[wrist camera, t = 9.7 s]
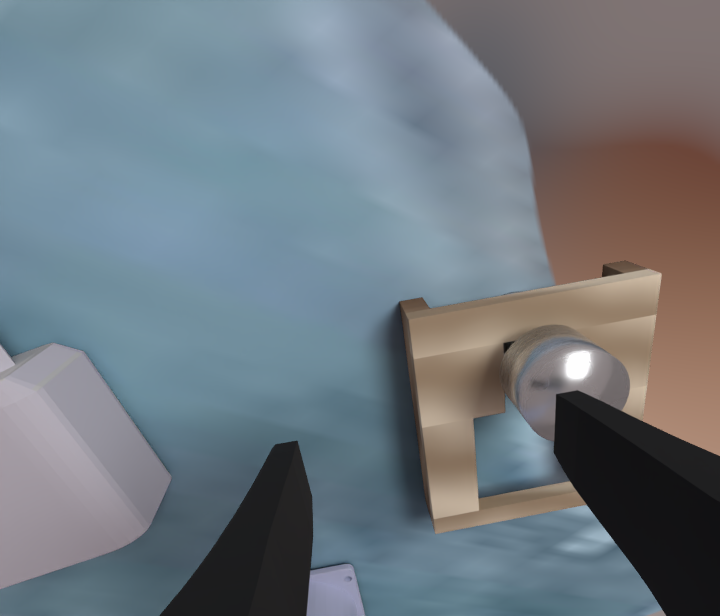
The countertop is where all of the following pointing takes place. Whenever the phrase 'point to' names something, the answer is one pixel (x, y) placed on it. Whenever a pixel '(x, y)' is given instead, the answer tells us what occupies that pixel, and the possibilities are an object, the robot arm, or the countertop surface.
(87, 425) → the charger
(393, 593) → the countertop surface
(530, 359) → the peg
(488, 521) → the keyhole plate
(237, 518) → the robot arm
